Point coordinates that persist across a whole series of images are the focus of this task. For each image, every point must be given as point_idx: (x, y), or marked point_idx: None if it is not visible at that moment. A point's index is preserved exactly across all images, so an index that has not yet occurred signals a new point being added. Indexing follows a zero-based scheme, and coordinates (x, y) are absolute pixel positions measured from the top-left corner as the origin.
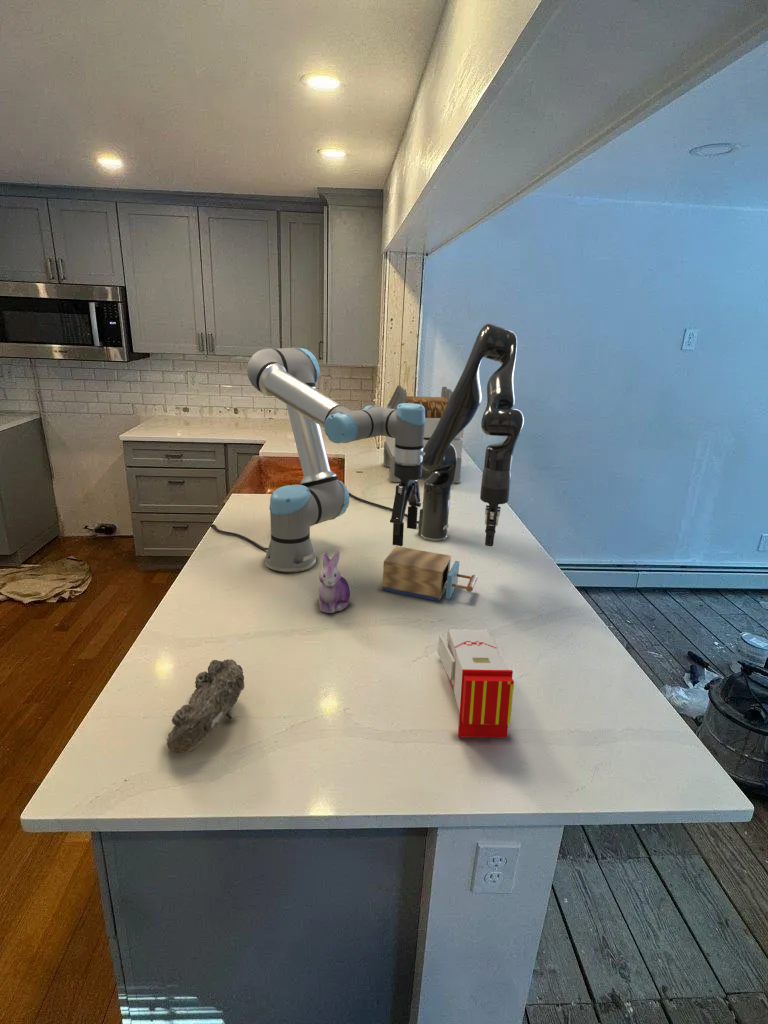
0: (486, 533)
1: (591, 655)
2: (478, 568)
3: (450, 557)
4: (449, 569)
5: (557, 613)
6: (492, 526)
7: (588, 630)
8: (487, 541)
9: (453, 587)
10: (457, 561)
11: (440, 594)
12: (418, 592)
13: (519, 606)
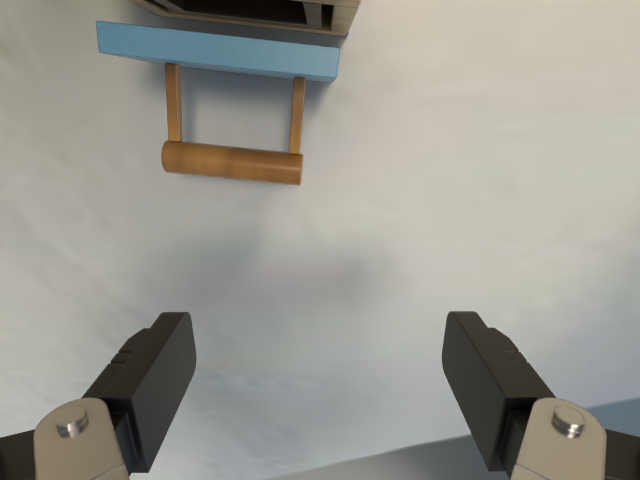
0: (103, 398)
1: None
2: (541, 164)
3: (342, 2)
4: (342, 20)
5: (246, 415)
6: (476, 409)
7: (184, 471)
8: (120, 357)
9: (226, 70)
10: (329, 63)
11: (160, 10)
12: None
13: (248, 321)
